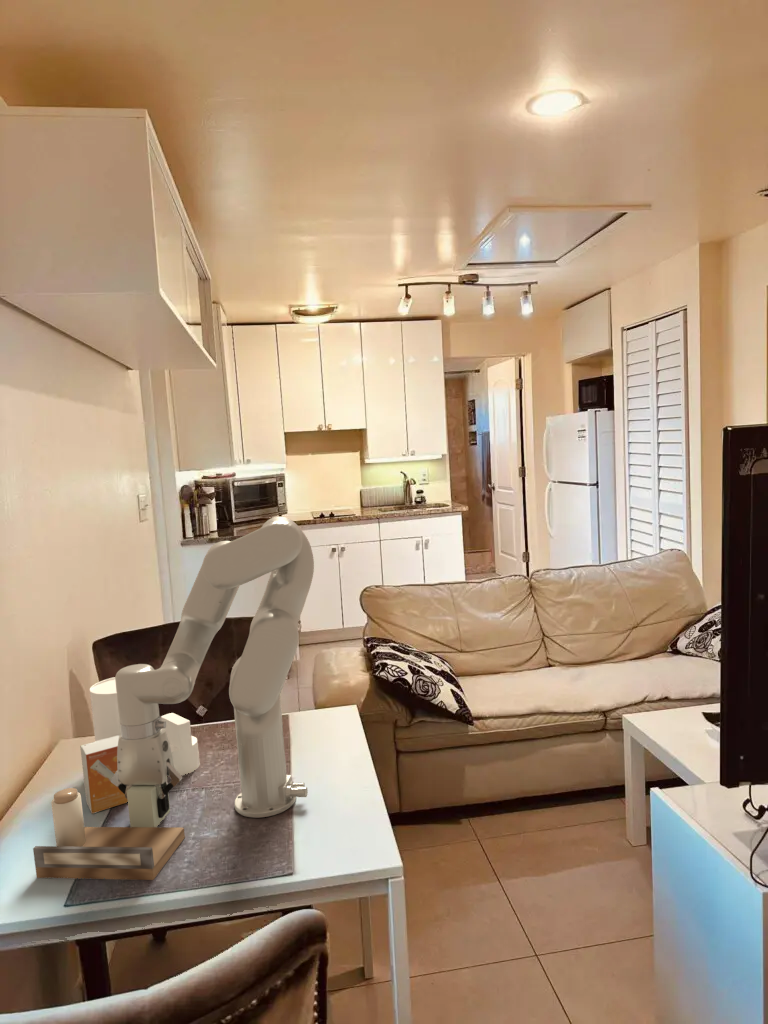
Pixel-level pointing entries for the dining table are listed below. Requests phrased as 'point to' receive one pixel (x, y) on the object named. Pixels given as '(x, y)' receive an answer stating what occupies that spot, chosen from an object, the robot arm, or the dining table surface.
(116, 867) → the shelf
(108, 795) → the small box
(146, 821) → the carton
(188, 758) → the base with upright slab
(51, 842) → the dining table surface
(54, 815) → the jar
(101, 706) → the canister
